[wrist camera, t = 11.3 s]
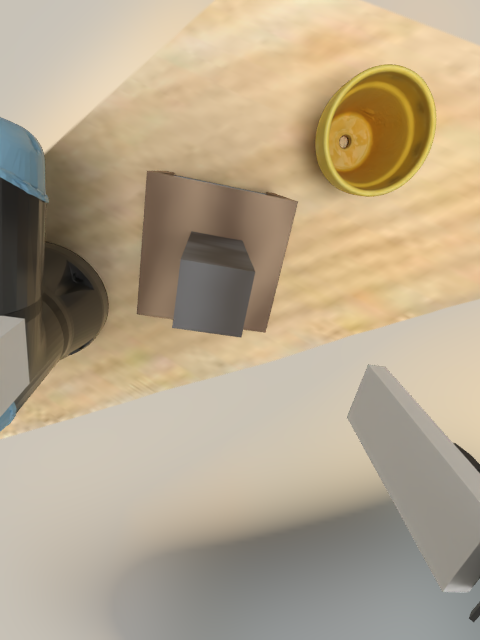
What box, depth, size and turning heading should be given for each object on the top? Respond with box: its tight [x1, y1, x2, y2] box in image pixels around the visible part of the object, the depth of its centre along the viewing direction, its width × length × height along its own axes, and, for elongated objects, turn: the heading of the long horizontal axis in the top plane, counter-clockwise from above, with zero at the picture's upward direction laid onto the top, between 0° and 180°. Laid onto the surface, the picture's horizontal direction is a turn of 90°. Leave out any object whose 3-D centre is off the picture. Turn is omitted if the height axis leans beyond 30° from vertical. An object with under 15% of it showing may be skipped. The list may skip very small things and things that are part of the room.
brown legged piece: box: [137, 171, 298, 337], centre depth 31 cm, size 13×13×22 cm
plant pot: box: [315, 64, 436, 197], centre depth 34 cm, size 10×10×10 cm
